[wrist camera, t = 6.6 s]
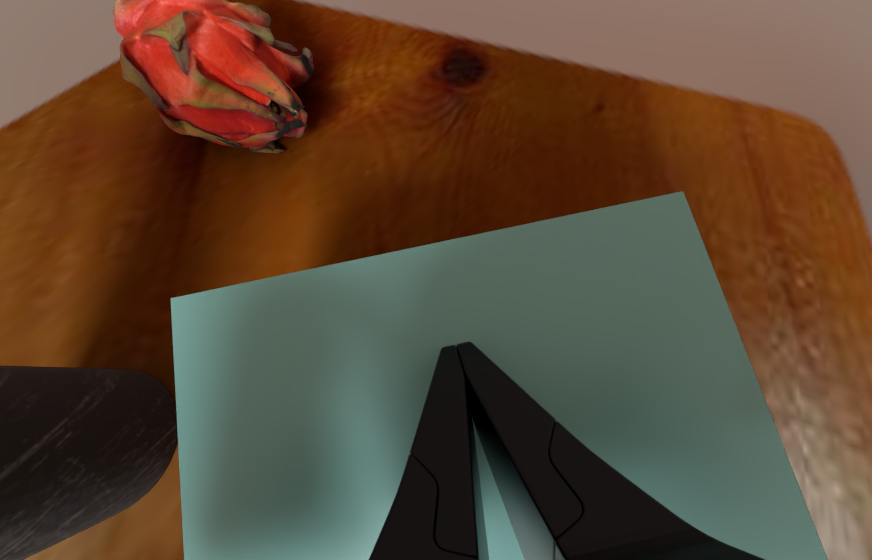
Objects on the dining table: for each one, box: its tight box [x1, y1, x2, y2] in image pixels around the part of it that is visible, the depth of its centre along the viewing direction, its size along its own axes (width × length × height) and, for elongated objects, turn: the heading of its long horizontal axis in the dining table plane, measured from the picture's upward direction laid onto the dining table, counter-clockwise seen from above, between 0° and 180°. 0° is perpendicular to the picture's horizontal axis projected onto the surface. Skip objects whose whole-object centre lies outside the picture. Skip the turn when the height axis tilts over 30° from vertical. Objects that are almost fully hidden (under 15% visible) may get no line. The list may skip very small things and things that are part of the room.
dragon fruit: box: [113, 0, 317, 154], centre depth 19 cm, size 8×8×12 cm
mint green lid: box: [171, 191, 828, 560], centre depth 9 cm, size 10×16×1 cm, turn 102°
